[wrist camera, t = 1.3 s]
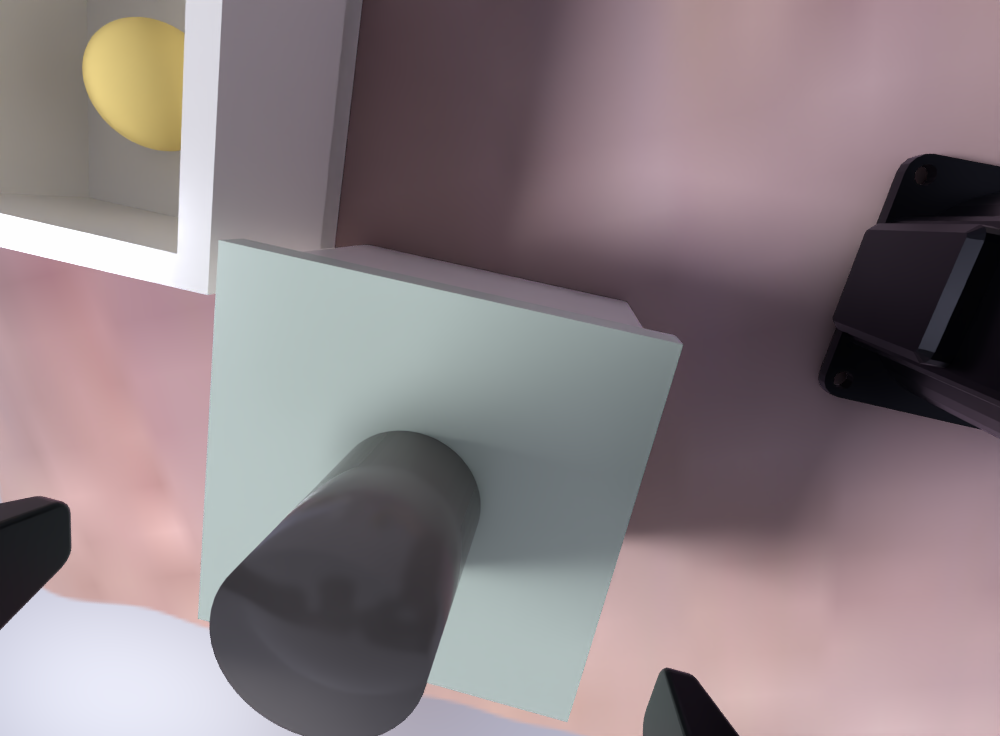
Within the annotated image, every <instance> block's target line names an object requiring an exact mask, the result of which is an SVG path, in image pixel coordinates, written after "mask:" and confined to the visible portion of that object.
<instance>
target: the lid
mask: <svg viewBox="0 0 1000 736" xmlns="http://www.w3.org/2000/svg"><path fill="white" fill-rule="evenodd" d="M682 347H683V344H682V342H681V341H680V340H679V339H678V338H677V337H676V336H675V335H672V334H667V333H663V332H658V331H654V330H649V329H645V328H640V327H636V326H632V325H627V324H623V323H618V322H614V321H609V320H605V319H600V318H596V317H591V316H587V315H582V314H578V313H573V312H569V311H565V310H560V309H556V308H551V307H547V306H542V305H538V304H533V303H529V302H524V301H520V300H515V299H511V298H506V297H502V296H498V295H493V294H489V293H484V292H480V291H475V290H471V289H466V288H462V287H457V286H453V285H448V284H444V283H440V282H435V281H431V280H426V279H422V278H417V277H413V276H408V275H404V274H399V273H395V272H390V271H386V270H381V269H377V268H373V267H368V266H364V265H359V264H355V263H350V262H346V261H341V260H337V259H332V258H328V257H323V256H319V255H314V254H310V253H306V252H301V251H297V250H292V249H288V248H283V247H279V246H274V245H270V244H265V243H261V242H256V241H252V240H248V239H228V240H219V241H218V260H217V278H216V297H215V315H214V334H213V352H212V370H211V389H210V407H209V426H208V444H207V463H206V481H205V500H204V518H203V537H202V555H201V573H200V592H199V610H198V619H201V620H205V621H208V622H210V638H211V644H212V647H213V651H214V654H215V657H216V660H217V662H218V664H219V666H220V669H221V670H222V672H223V674H224V675H225V677H226V679H227V680H228V682H229V683H230V685H231V686H232V687H233V689H234V690H235V691H236V692H237V693H238V694H239V695H240V697H241V698H242V699H243V700H244V701H245V702H246V703H247V704H248V705H250V706H251V707H252V708H253V709H254V710H255V711H257V712H258V713H259V714H261V715H262V716H264V717H265V718H266V719H268V720H270V721H271V722H273V723H275V724H277V725H278V726H280V727H282V728H285V729H287V730H289V731H291V732H294V733H297V734H300V735H302V736H378V735H381V734H383V733H385V732H387V731H389V730H391V729H393V728H395V727H396V726H397V725H399V724H400V723H401V722H403V721H404V720H405V719H406V718H407V717H408V716H409V715H410V714H411V713H412V712H413V710H414V709H415V707H416V706H417V704H418V703H419V701H420V699H421V697H422V695H423V693H424V690H425V687H426V684H427V683H429V684H433V685H437V686H440V687H444V688H447V689H451V690H454V691H458V692H462V693H465V694H469V695H472V696H476V697H479V698H483V699H486V700H490V701H494V702H497V703H501V704H504V705H508V706H511V707H515V708H519V709H522V710H526V711H529V712H533V713H536V714H540V715H543V716H547V717H551V718H554V719H558V720H561V721H565V722H568V718H569V715H570V712H571V709H572V705H573V702H574V699H575V696H576V692H577V689H578V686H579V683H580V679H581V676H582V673H583V670H584V666H585V663H586V660H587V657H588V653H589V650H590V647H591V644H592V640H593V637H594V634H595V631H596V627H597V624H598V621H599V618H600V614H601V611H602V608H603V605H604V601H605V598H606V595H607V591H608V588H609V585H610V582H611V578H612V575H613V572H614V569H615V565H616V562H617V559H618V556H619V552H620V549H621V546H622V543H623V539H624V536H625V533H626V530H627V526H628V523H629V520H630V517H631V513H632V510H633V507H634V504H635V500H636V497H637V494H638V491H639V487H640V484H641V481H642V478H643V474H644V471H645V468H646V464H647V461H648V458H649V455H650V451H651V448H652V445H653V442H654V438H655V435H656V432H657V429H658V425H659V422H660V419H661V416H662V412H663V409H664V406H665V403H666V399H667V396H668V393H669V390H670V386H671V383H672V380H673V377H674V373H675V370H676V367H677V364H678V360H679V357H680V354H681V351H682Z"/></svg>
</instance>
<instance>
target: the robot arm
mask: <svg viewBox="0 0 1000 736" xmlns="http://www.w3.org/2000/svg"><path fill="white" fill-rule="evenodd" d="M921 166H922V167H924V168H925V169H926V171H927V179H926V180H925V181H924V183H923V184H921V185H919V184H917V183H916V181H915V179H914V178H915V172H916V171H917V170H918V168H919V167H921ZM833 321H834V323H835V325H836V327H837V328H836V330H835V333H834V335H833V338H832V341H831V343H830V346H829V348H828V351H827V354H826V356H825V359H824V361H823V364H822V366H821V369H820V372H819V377H818V380H819V383H820V385H821V387H822V388H823V389H824V390H826V391H827V392H828V393H830V394H832V395H834V396H836V397H840V398H845V399H849V400H854V401H858V402H862V403H867V404H871V405H875V406H880V407H884V408H889V409H893V410H897V411H902V412H906V413H911V414H915V415H919V416H924V417H928V418H933V419H937V420H941V421H946V422H950V423H955V424H959V425H963V426H968V427H972V428H977V429H981V430H984V431H986V432H988V433H990V434H992V435H993V436H995V437H997V438H999V439H1000V167H999V166H994V165H989V164H984V163H978V162H973V161H968V160H963V159H958V158H953V157H947V156H942V155H937V154H923V155H918V156H915V157H912V158H909V159H907V160H906V161H905V162H904V163H903V164H901V166H900V167H899V169H898V171H897V172H896V175H895V177H894V180H893V183H892V185H891V188H890V190H889V193H888V195H887V198H886V201H885V203H884V206H883V208H882V211H881V214H880V216H879V219H878V221H877V224H876V225H875V226H873V227H871V228H870V229H868V230H867V231H866V232H865V234H864V237H863V240H862V242H861V245H860V248H859V250H858V253H857V255H856V258H855V261H854V263H853V266H852V268H851V271H850V274H849V276H848V279H847V282H846V284H845V287H844V289H843V292H842V295H841V297H840V300H839V303H838V305H837V308H836V310H835V313H834V316H833ZM842 371H846V373H847V377H846V379H845V381H844V382H843V383H841V384H839V385H835V384H834V377H835V376H836V375H837V374H838V373H840V372H842ZM70 552H71V513H70V509H69V507H68V505H67V504H65V503H64V502H62V501H58V500H54V499H51V498H47V497H42V496H36V497H30V498H25V499H20V500H15V501H10V502H5V503H0V630H1V629H2V628H3V627H4V626H5V624H6V623H8V621H9V620H10V619H11V618H12V617H13V616H14V615H15V614H16V613H17V612H18V611H19V610H20V609H21V608H22V607H23V606H24V605H25V604H26V603H27V602H28V601H29V600H30V599H31V598H32V597H33V596H34V595H35V594H36V593H37V592H38V591H39V590H40V589H41V588H42V587H43V586H44V585H45V584H46V583H47V582H48V581H49V580H50V579H51V578H52V577H53V576H54V575H55V574H56V573H57V572H58V571H59V570H60V569H61V568H62V566H63V565H64V564H65V562H66V561H67V559H68V557H69V555H70ZM643 736H739V735H738V733H737V732H736V731H735V729H734V728H733V727H732V725H731V724H730V723H729V721H728V720H727V719H726V717H725V716H724V715H723V713H722V712H721V711H720V709H719V708H718V707H717V705H716V704H715V703H714V701H713V700H712V699H711V697H710V696H709V695H708V693H707V692H706V691H705V689H704V688H703V687H702V685H701V684H700V683H699V681H698V680H697V679H696V678H695V677H694V676H693V675H691V674H689V673H685V672H682V671H678V670H674V669H671V668H664V669H662V671H661V672H660V673H659V675H658V678H657V681H656V684H655V686H654V689H653V692H652V695H651V698H650V700H649V703H648V706H647V709H646V712H645V716H644V722H643Z"/></svg>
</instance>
